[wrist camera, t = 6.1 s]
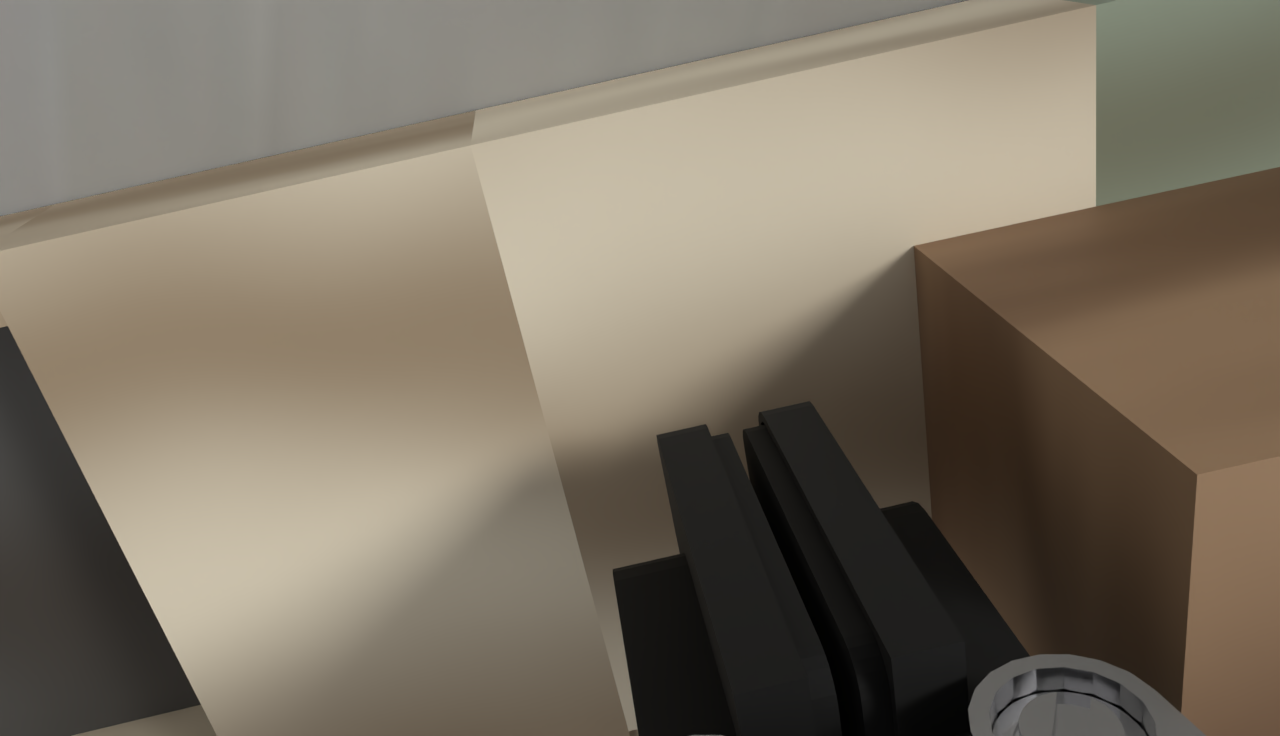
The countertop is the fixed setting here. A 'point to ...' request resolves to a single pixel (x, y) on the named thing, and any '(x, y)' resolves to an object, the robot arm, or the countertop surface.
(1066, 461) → the walnut block
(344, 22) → the countertop surface
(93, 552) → the trap board
